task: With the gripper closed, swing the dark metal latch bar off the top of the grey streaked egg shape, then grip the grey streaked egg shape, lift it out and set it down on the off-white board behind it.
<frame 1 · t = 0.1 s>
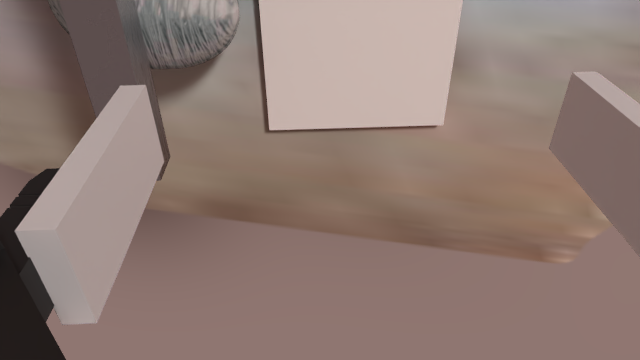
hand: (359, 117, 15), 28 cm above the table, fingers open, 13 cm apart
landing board: (360, 9, 41), on the table
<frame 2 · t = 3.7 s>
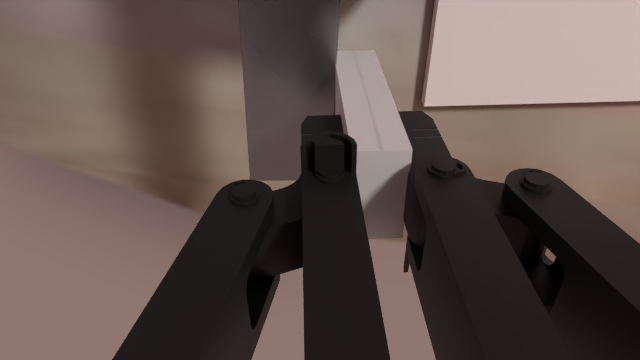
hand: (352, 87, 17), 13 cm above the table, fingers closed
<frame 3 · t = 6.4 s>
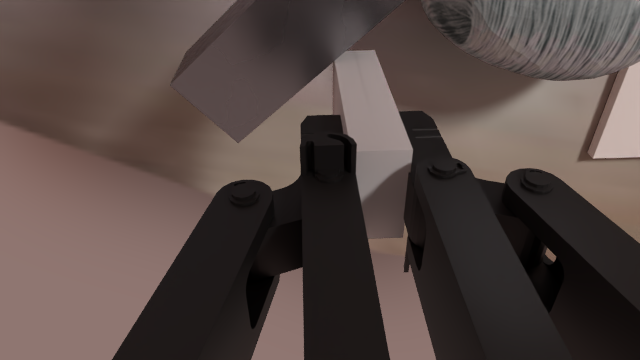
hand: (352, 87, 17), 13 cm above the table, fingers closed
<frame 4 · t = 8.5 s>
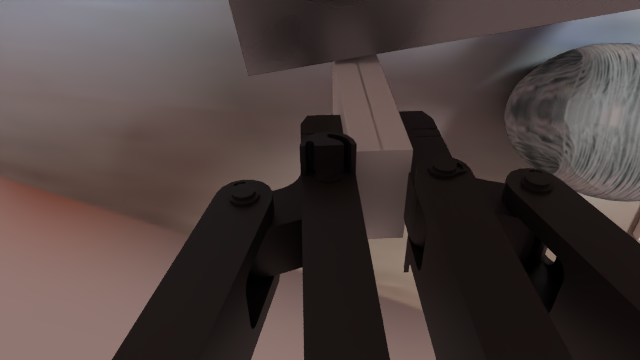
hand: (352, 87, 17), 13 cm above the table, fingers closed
grey streaked egg shape: (587, 94, 33), on the table
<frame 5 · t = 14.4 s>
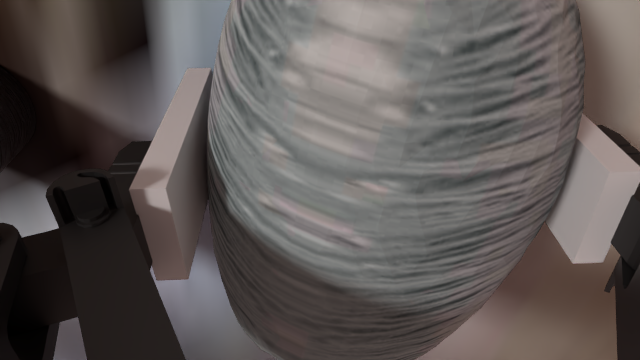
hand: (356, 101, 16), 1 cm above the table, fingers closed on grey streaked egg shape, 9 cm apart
grey streaked egg shape: (352, 90, 17), on the table, touching gripper
when the fingers open (2 cm above the table, at t = 21.1 s): grey streaked egg shape stays where it is, resting on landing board.
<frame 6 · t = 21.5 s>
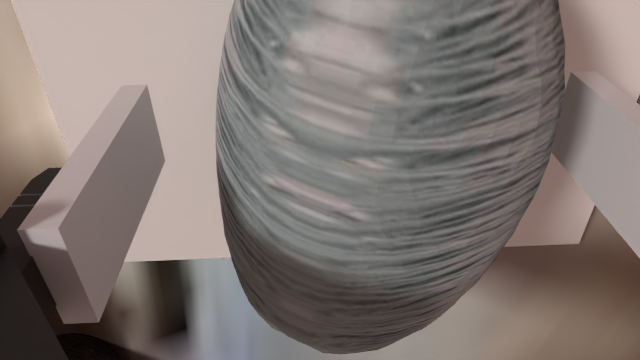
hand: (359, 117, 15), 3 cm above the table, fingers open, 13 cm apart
grey streaked egg shape: (352, 81, 18), point 1 cm above the table, touching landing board
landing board: (349, 74, 18), on the table
latch post: (80, 355, 27), on the table
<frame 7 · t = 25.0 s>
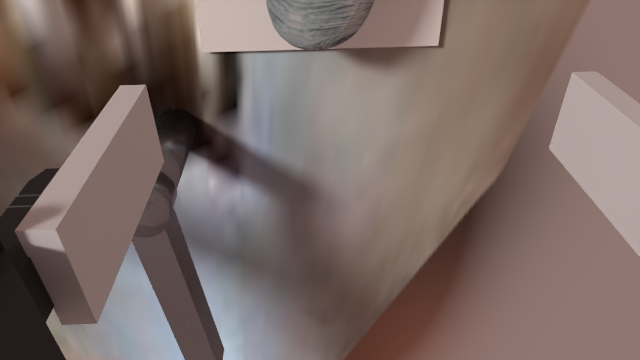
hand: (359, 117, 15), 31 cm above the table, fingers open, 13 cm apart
latch bar: (178, 285, 44), point 13 cm above the table, hinge at -85.0°
latch post: (177, 125, 49), on the table
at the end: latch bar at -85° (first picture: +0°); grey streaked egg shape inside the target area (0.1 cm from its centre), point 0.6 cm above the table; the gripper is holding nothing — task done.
